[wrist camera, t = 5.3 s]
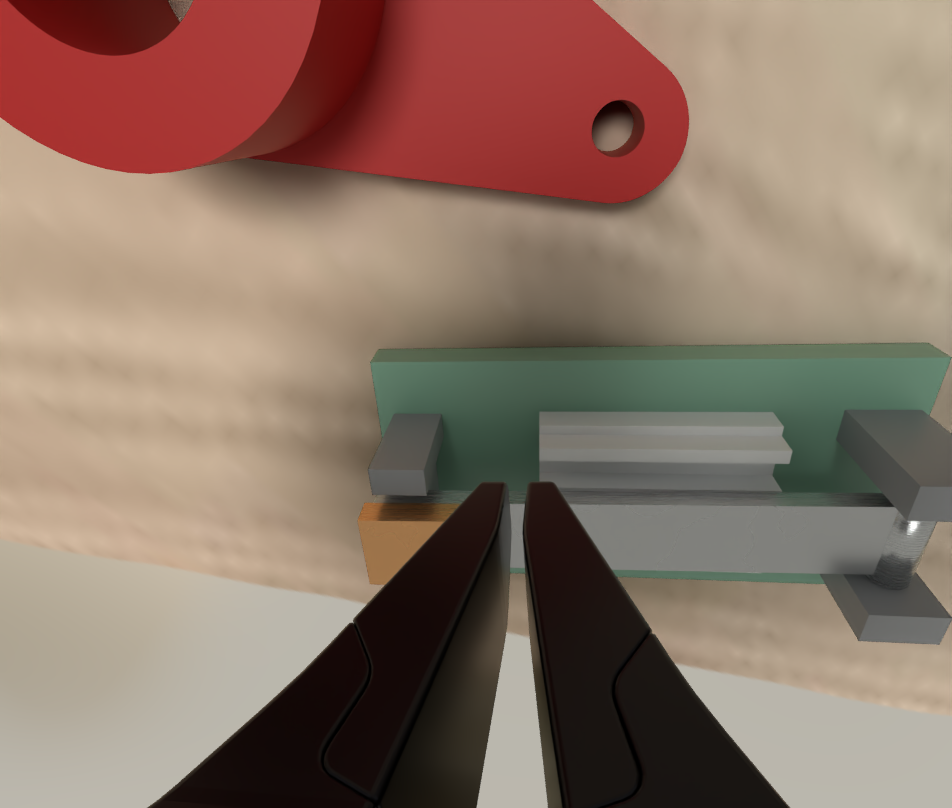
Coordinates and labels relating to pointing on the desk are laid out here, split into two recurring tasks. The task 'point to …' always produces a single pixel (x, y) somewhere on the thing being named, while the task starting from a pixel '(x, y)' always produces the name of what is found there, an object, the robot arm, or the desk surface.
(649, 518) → the strap
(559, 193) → the lever
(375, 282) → the desk surface
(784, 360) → the base
